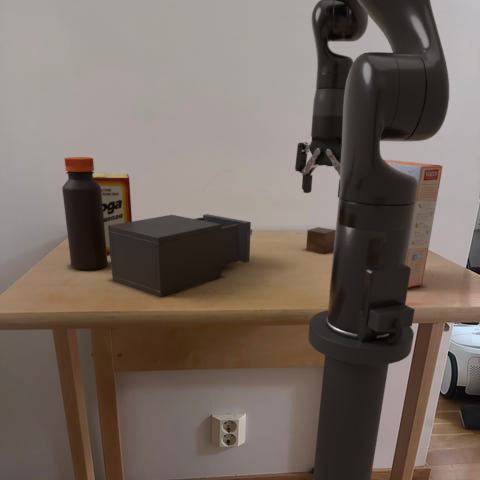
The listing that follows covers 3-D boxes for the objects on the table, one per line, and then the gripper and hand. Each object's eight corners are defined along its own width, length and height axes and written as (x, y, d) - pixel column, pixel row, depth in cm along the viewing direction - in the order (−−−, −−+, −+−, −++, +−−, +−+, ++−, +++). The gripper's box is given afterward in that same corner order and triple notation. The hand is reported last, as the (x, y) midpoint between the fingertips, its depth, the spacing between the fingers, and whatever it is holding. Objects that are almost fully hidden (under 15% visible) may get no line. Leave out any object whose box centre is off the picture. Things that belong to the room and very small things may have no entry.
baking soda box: (132, 245, 110) (127, 172, 104) (134, 252, 104) (129, 175, 98) (89, 247, 108) (81, 172, 102) (88, 254, 102) (80, 176, 96)
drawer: (220, 247, 106) (220, 211, 103) (262, 257, 99) (264, 219, 96) (158, 264, 93) (156, 223, 90) (202, 276, 87) (202, 232, 84)
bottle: (71, 262, 96) (58, 156, 89) (106, 260, 99) (97, 156, 91) (71, 272, 91) (58, 159, 83) (109, 269, 93) (99, 159, 85)
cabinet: (173, 263, 97) (171, 214, 93) (221, 277, 90) (221, 224, 86) (112, 280, 87) (107, 225, 83) (160, 297, 79) (158, 237, 75)
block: (333, 250, 110) (335, 230, 109) (323, 253, 107) (325, 233, 105) (316, 246, 113) (318, 226, 111) (305, 250, 110) (307, 229, 108)
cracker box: (423, 285, 87) (445, 164, 79) (401, 291, 84) (420, 165, 76) (366, 266, 98) (380, 158, 90) (344, 270, 95) (357, 158, 87)
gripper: (291, 113, 101) (287, 193, 107) (354, 114, 92) (345, 200, 99) (311, 113, 106) (305, 189, 112) (371, 114, 98) (362, 197, 104)
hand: (324, 194), depth 105 cm, fingers open, 8 cm apart
